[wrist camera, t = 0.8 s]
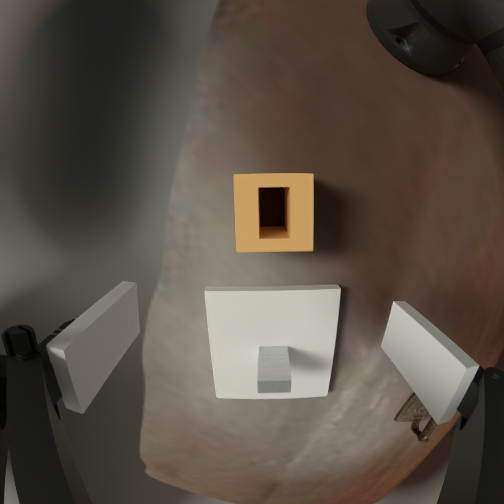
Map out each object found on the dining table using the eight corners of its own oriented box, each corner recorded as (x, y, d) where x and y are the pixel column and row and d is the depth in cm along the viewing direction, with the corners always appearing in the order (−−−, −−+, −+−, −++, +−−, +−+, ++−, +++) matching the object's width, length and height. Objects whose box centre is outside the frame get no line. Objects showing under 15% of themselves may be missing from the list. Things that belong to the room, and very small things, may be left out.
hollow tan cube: (240, 175, 31) (233, 174, 24) (302, 175, 31) (313, 173, 24) (241, 237, 33) (236, 252, 26) (302, 236, 33) (313, 251, 26)
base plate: (337, 284, 34) (340, 288, 32) (325, 389, 38) (327, 395, 37) (206, 286, 35) (204, 290, 33) (217, 391, 39) (216, 397, 37)
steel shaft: (287, 345, 35) (291, 380, 28) (286, 357, 35) (290, 392, 28) (258, 346, 35) (257, 381, 28) (258, 357, 35) (257, 393, 28)
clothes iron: (391, 420, 41) (409, 449, 31) (412, 366, 41) (438, 388, 31) (421, 419, 40) (442, 445, 30) (441, 367, 40) (469, 387, 30)
